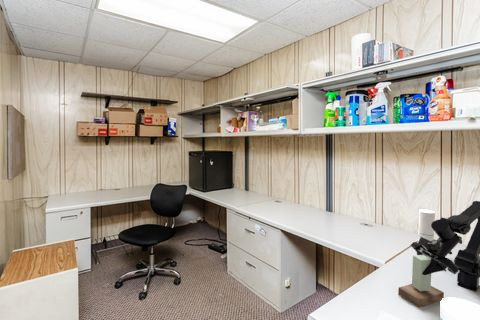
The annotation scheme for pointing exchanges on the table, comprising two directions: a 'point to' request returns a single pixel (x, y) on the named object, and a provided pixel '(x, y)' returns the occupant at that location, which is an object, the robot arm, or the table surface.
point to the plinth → (420, 295)
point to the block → (418, 278)
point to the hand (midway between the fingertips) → (418, 271)
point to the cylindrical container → (426, 225)
